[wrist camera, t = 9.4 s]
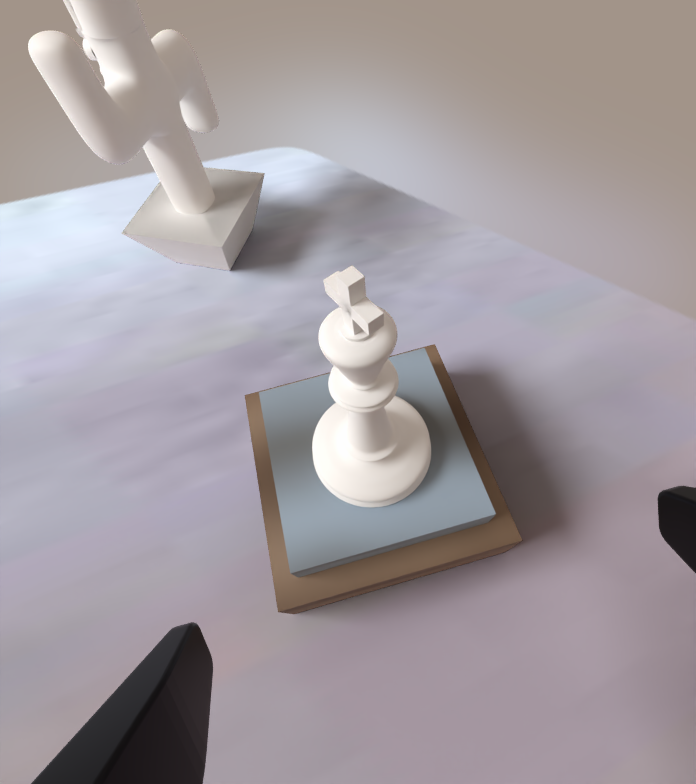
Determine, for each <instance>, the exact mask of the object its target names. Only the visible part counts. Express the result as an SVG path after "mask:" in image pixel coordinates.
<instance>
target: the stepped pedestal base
mask: <svg viewBox="0 0 696 784" xmlns="http://www.w3.org/2000/svg"><path fill="white" fill-rule="evenodd" d="M388 359H389V360H390V361H391V363H392V364H393V366H394V367H395V369H396V371H397V374H398V379H399V385H398V389H397V392H396V394H395V396H397V397H399V398H401V399H403V400H405V401H406V402H408V403H409V404H410V405H411V406H413V407H414V408H415V409H416V410H417V412H418V413H419V414H420V415H421V417H422V418H423V420H424V422H425V424H426V426H427V429H428V432H429V437H430V442H431V460H430V465H429V468H428V471H427V473H426V475H425V477H424V479H423V481H422V482H421V483H420V485H419V486H418V487H417V488H416V489H415V490H414V491H413V492H412V493H411V494H410V495H408V496H407V497H405V498H404V499H402V500H400V501H398V502H396V503H394V504H391V505H387V506H383V507H374V508H369V507H360V506H356V505H352V504H349V503H347V502H345V501H343V500H341V499H339V498H338V497H336V496H335V495H333V494H332V493H331V492H330V491H329V490H328V489H327V488H326V487H325V486H324V484H323V483H322V482H321V480H320V478H319V476H318V474H317V472H316V469H315V466H314V462H313V452H312V442H313V436H314V432H315V429H316V426H317V424H318V422H319V420H320V419H321V417H322V416H323V414H324V413H325V412H326V411H327V410H328V409H329V408H330V407H331V406H332V405H333V404H335V403H336V402H335V401H334V399H333V398H332V396H331V394H330V391H329V386H328V381H329V376H330V373H331V372H330V373H326V374H322V375H319V376H315V377H311V378H307V379H304V380H300V381H296V382H293V383H289V384H285V385H281V386H278V387H274V388H270V389H267V390H263V391H259V392H255V393H252V394H248V395H245V400H246V406H247V413H248V419H249V426H250V432H251V439H252V445H253V452H254V458H255V465H256V471H257V478H258V484H259V491H260V497H261V504H262V510H263V517H264V523H265V530H266V536H267V543H268V549H269V556H270V562H271V569H272V575H273V582H274V588H275V595H276V601H277V608H278V612H282V613H289V614H296V613H299V612H303V611H306V610H310V609H313V608H317V607H320V606H323V605H327V604H330V603H334V602H337V601H340V600H344V599H347V598H351V597H354V596H357V595H361V594H364V593H368V592H371V591H374V590H378V589H381V588H385V587H388V586H392V585H395V584H398V583H402V582H405V581H409V580H412V579H415V578H419V577H422V576H426V575H429V574H432V573H436V572H439V571H443V570H446V569H449V568H453V567H456V566H460V565H463V564H467V563H470V562H473V561H477V560H480V559H484V558H487V557H490V556H494V555H497V554H501V553H504V552H506V551H508V550H509V549H511V548H512V547H514V546H515V545H517V544H518V543H520V542H521V541H523V540H522V538H521V536H520V534H519V532H518V529H517V527H516V525H515V523H514V520H513V518H512V516H511V514H510V511H509V509H508V507H507V505H506V502H505V500H504V498H503V496H502V494H501V491H500V489H499V487H498V485H497V482H496V480H495V478H494V476H493V473H492V471H491V469H490V467H489V464H488V462H487V460H486V458H485V456H484V453H483V451H482V449H481V447H480V444H479V442H478V440H477V438H476V435H475V433H474V431H473V429H472V426H471V424H470V422H469V420H468V418H467V415H466V413H465V411H464V409H463V406H462V404H461V402H460V400H459V397H458V395H457V393H456V391H455V388H454V386H453V384H452V382H451V380H450V377H449V375H448V373H447V371H446V368H445V366H444V364H443V362H442V359H441V357H440V355H439V353H438V350H437V348H436V346H435V344H434V345H430V346H426V347H423V348H419V349H415V350H412V351H408V352H404V353H400V354H397V355H393V356H390V357H389V358H388Z"/></svg>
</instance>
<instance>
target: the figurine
mask: <svg viewBox="0 0 696 784" xmlns="http://www.w3.org/2000/svg"><path fill="white" fill-rule="evenodd" d="M63 1H64V3H65V5H66V7H67V9H68V11H69V12H70V14H71V16H72V18H73V20H74V22H75V24H76V26H77V28H78V29H76V31H77V32H78V34H79V35H80V36H81V37H83V38H84V40H83V48H84V51H85V53H86V55H87V57H88V58H90V59H91V60H97V61H98V63H99V65H100V72H101V73H102V75H103V76H104V80H105V86H104V87H103V85H102V84H101V82H100V80H99V79H98V77H97V75H96V74H95V72H94V70H93V68H92V66H91V64H90V63H89V61H88V59H87V57H86V55H85V54H84V52H83V50H82V49H81V47H80V46H79V45H78V43H77V42H76V41H75V40H74V39H73V38H71V37H70V36H68V35H67V34H65V33H62V32H59V31H43V32H39V33H37V34H35V35H34V36H32V38H31V39H30V40H29V44H28V49H29V53H30V56H31V58H32V60H33V62H34V64H35V65H36V67H37V69H38V70H39V72H40V73H41V75H42V77H43V78H44V80H45V81H46V83H47V84H48V86H49V88H50V89H51V91H52V92H53V94H54V95H55V97H56V99H57V100H58V102H59V103H60V105H61V106H62V108H63V110H64V111H65V113H66V114H67V116H68V117H69V119H70V121H71V122H72V124H73V125H74V127H75V128H76V130H77V131H78V133H79V134H80V136H81V137H82V138H83V140H84V141H85V142H86V143H87V145H88V146H89V147H90V148H91V150H93V152H94V153H95V154H97V155H98V156H99V157H100V158H102V159H103V160H105V161H107V162H109V163H112V164H124V163H127V162H129V161H130V160H131V159H133V158H134V157H135V156H136V154H137V153H138V152H139V151H140V150H141V148H142V147H143V149H144V151H145V153H146V155H147V157H148V158H149V160H150V162H151V164H152V166H153V168H154V170H155V172H156V174H157V176H158V178H159V180H160V182H159V184H158V185H157V186H156V188H155V189H154V190H153V192H152V193H151V194H150V196H149V197H148V198H147V200H146V201H145V202H144V204H143V205H142V206H141V208H140V209H139V210H138V212H137V213H136V214H135V216H134V217H133V218H132V220H131V221H130V222H129V224H128V225H127V226H126V228H125V229H124V231H123V232H122V234H124V235H126V236H128V237H130V238H131V239H133V240H135V241H137V242H139V243H141V244H143V245H144V246H146V247H148V248H150V249H152V250H154V251H156V252H158V253H159V254H161V255H163V256H165V257H167V258H169V259H171V260H173V261H174V262H176V263H182V264H189V265H195V266H202V267H209V268H215V269H222V270H228V271H230V270H231V268H232V266H233V264H234V262H235V260H236V259H237V257H238V255H239V253H240V251H241V250H242V248H243V246H244V244H245V242H246V240H247V239H248V237H249V235H250V233H251V231H252V230H253V226H254V221H255V216H256V212H257V207H258V202H259V197H260V193H261V188H262V183H263V178H264V174H265V173H256V172H246V171H236V170H225V169H215V168H205V167H203V165H202V163H201V160H200V158H199V155H198V153H197V151H196V148H195V146H194V143H193V141H192V138H191V136H190V134H189V131H188V129H187V126H188V127H189V128H190V129H191V130H193V131H195V132H199V133H208V132H211V131H213V130H215V129H216V128H217V127H218V124H219V118H218V114H217V111H216V108H215V105H214V102H213V99H212V97H211V94H210V91H209V88H208V85H207V82H206V79H205V76H204V73H203V70H202V67H201V65H200V63H199V60H198V57H197V55H196V53H195V51H194V49H193V47H192V46H191V44H190V43H189V41H188V40H187V39H186V38H185V37H184V36H183V35H182V34H181V33H179V32H177V31H174V30H171V29H168V30H163V31H161V32H159V33H157V34H156V35H155V36H154V37H153V38H152V39H150V37H149V34H148V32H147V29H146V26H145V24H144V21H143V18H142V14H141V11H140V8H139V6H138V3H137V0H63ZM185 123H186V124H185ZM186 125H187V126H186Z"/></svg>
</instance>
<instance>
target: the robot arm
mask: <svg viewBox="0 0 696 784" xmlns="http://www.w3.org/2000/svg"><path fill="white" fill-rule="evenodd" d="M658 515H659V529H660V532H661V535H662V537H663V538H664V540H665V541H666V542H667V543H668V544H669V545H670V547H671V548H672V549H673V550H674V551H675V552H676V553H677V554H678V555H679V556H680V557H681V558H682V559H683V560H684V561H685V563H686V564H687V565H688V566H689V567H690V568H691V569H692V570H693V571H694V572H695V573H696V488H693V487H687V486H677V487H674V488H670V489H667V490H663V491H662V492H660V493H659V495H658ZM212 676H213V662H212V657H211V654H210V651H209V649H208V647H207V644H206V642H205V640H204V637H203V635H202V632H201V630H200V628H199V626H198V625H197V624H196V623H193V622H191V623H188V624H184V625H180V626H177V627H174V628H172V629H171V630H170V631H169V632H168V633H167V634H166V636H165V637H164V638H163V639H162V640H161V641H160V642H159V643H158V644H157V645H156V647H155V648H154V649H153V650H152V651H151V652H150V653H149V654H148V655H147V656H146V658H145V659H144V660H143V661H142V662H141V663H140V664H139V665H138V666H137V667H136V669H135V670H134V671H133V672H132V673H131V674H130V675H129V676H128V677H127V679H126V680H125V681H124V682H123V683H122V684H121V685H120V686H119V687H118V688H117V690H116V691H115V692H114V693H113V694H112V695H111V696H110V697H109V698H108V699H107V701H106V702H105V703H104V704H103V705H102V706H101V707H100V708H99V709H98V710H97V712H96V713H95V714H94V715H93V716H92V717H91V718H90V719H89V720H88V722H87V723H86V724H85V725H84V726H83V727H82V728H81V729H80V730H79V731H78V733H77V734H76V735H75V736H74V737H73V738H72V739H71V740H70V741H69V742H68V744H67V745H66V746H65V747H64V748H63V749H62V750H61V751H60V752H59V753H58V755H57V756H56V757H55V758H54V759H53V760H52V761H51V762H50V763H49V765H48V766H47V767H46V768H45V769H44V770H43V771H42V772H41V773H40V774H39V776H38V777H37V778H36V779H35V780H34V781H33V782H32V783H31V784H203V777H204V770H205V762H206V752H207V740H208V728H209V715H210V702H211V689H212Z"/></svg>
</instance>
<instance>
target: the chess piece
mask: <svg viewBox="0 0 696 784" xmlns="http://www.w3.org/2000/svg"><path fill="white" fill-rule="evenodd" d="M324 285H325V290H326V293H327V294H328V295H329V296H330V297H331V298H332V299H333V300H334V301H335V302H336V303H337V304H338V305H339V306H340V307H339V308H337V309H335V310H334V311H332V312H331V313H330V314H329V315H328V316H327V317H326V318H325V320H324V321H323V323H322V325H321V327H320V330H319V345H320V348H321V350H322V352H323V354H324V355H325V357H326V358H327V359H328V360H329V361H330V362H331V363H332V364H333V365H334V366H333V368H332V370H331V373H330V376H329V381H328V386H329V391H330V394H331V396H332V398H333V399H334V401H335V402H336V403H335V404H333V405H332V406H331V407H330V408H329V409H328V410H327V411H326V412H325V413H324V414H323V416H322V417H321V419H320V420H319V422H318V424H317V426H316V429H315V432H314V436H313V442H312V452H313V462H314V466H315V469H316V472H317V474H318V476H319V478H320V480H321V482H322V483H323V484H324V486H325V487H326V488H327V489H328V490H329V491H330V492H331V493H332V494H333V495H335V496H336V497H338V498H339V499H341V500H343V501H345V502H347V503H349V504H352V505H356V506H360V507H369V508H374V507H383V506H387V505H391V504H394V503H396V502H398V501H400V500H402V499H404V498H405V497H407V496H408V495H410V494H411V493H412V492H413V491H414V490H415V489H416V488H417V487H418V486H419V485H420V483H421V482H422V481H423V479H424V477H425V475H426V473H427V471H428V468H429V465H430V460H431V442H430V437H429V432H428V429H427V426H426V424H425V422H424V420H423V418H422V417H421V415H420V414H419V413H418V412H417V410H416V409H415V408H414V407H413V406H411V405H410V404H409V403H408V402H406V401H405V400H403V399H401V398H399V397H397V396H395V394H396V392H397V389H398V385H399V379H398V374H397V371H396V369H395V367H394V366H393V364H392V363H391V361H390V360H389V359H388V358H389V357H390V355H391V353H392V352H393V350H394V347H395V345H396V341H397V328H396V325H395V322H394V320H393V319H392V317H391V316H390V315H389V314H388V313H387V312H386V311H385V310H383V309H382V308H380V307H378V306H376V305H374V304H373V303H372V302H371V301H370V300H369V299H368V298H367V297H366V290H365V278H364V276H363V275H362V274H361V273H360V272H359V271H358V270H357V269H356V268H355V267H353V266H350V267H349V268H347V269H345V270H344V271H342V272H339V271H337V272H335V273H334V274H332V275H331V276H329V277H327V278H326V279H324Z"/></svg>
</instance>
